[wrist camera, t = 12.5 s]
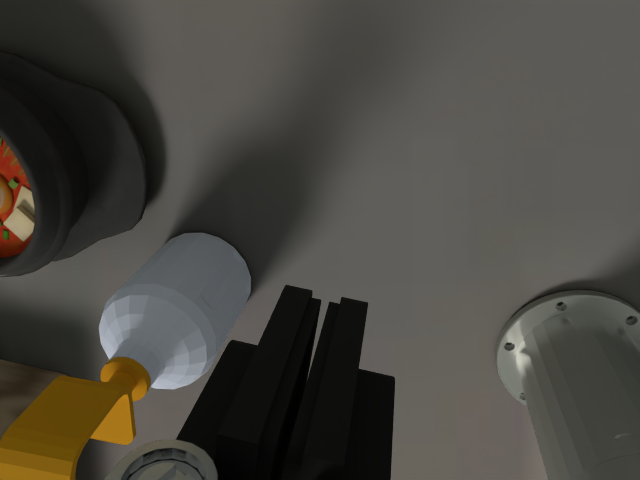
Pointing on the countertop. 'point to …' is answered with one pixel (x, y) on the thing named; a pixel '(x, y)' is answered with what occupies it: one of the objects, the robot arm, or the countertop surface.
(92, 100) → the casserole
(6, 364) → the open wooden box
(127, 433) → the soap bottle
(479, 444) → the countertop surface
